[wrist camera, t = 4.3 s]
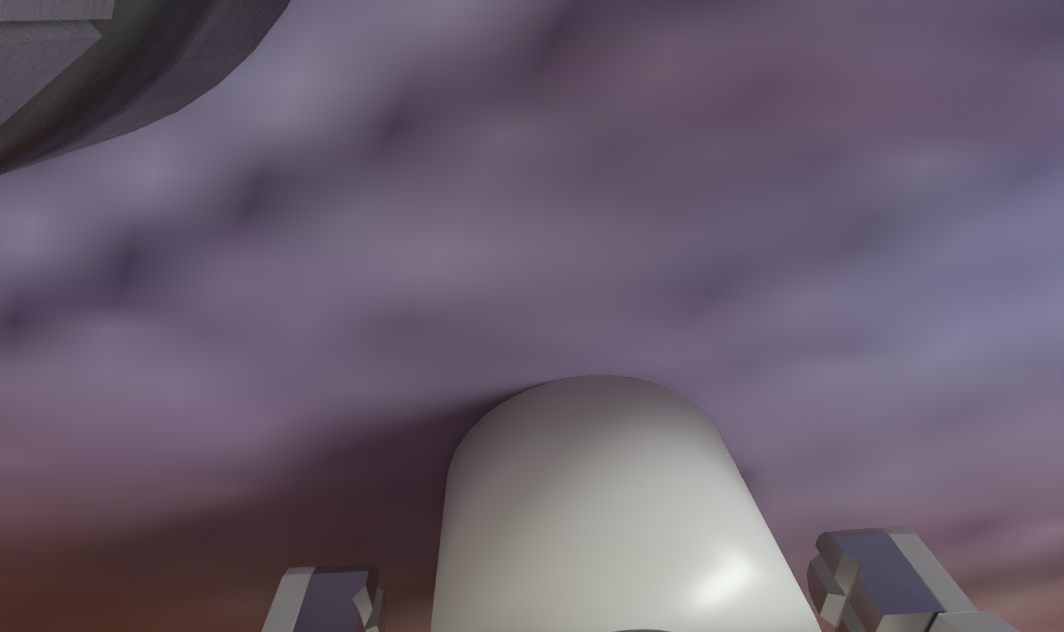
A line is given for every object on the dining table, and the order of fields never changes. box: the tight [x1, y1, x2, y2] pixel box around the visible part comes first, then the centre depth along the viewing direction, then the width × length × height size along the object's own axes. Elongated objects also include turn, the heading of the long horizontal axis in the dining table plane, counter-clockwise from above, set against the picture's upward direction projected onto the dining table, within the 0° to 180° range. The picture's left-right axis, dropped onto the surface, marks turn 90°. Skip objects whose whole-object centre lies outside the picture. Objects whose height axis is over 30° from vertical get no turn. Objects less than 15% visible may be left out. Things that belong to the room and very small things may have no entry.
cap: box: [430, 375, 821, 632], centre depth 10 cm, size 6×6×4 cm
